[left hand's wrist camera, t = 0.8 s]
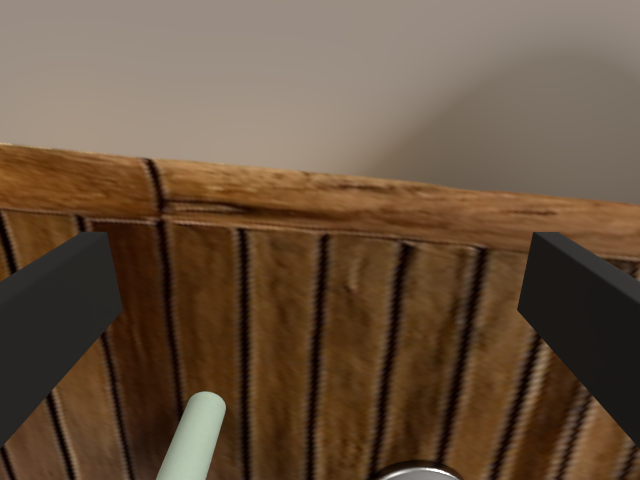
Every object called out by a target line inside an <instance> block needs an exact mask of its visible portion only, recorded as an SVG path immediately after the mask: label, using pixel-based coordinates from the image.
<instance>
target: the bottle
mask: <svg viewBox="0 0 640 480" xmlns="http://www.w3.org/2000/svg"><path fill="white" fill-rule="evenodd" d="M225 411H226V405H225V402H224V401H223V399H222V398H221V397H219V396H218V395H216V394H214V393H211V392H199V393H196V394H195V395H193V396H192V397H191V398H190V399H189V402H188V404H187V406H186V409H185V411H184V413H183V416H182V418H181V421H180V423H179V425H178V428H177V430H176V433H175V435H174V437H173V440H172V442H171V445H170V447H169V449H168V452H167V454H166V457H165V459H164V461H163V464H162V466H161V469H160V471H159V473H158V476H157V478H156V480H206V476H207V473H208V469H209V466H210V462H211V459H212V456H213V452H214V449H215V445H216V442H217V438H218V435H219V432H220V428H221V425H222V421H223V418H224V414H225Z"/></svg>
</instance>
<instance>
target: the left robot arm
mask: <svg viewBox="0 0 640 480" xmlns="http://www.w3.org/2000/svg"><path fill="white" fill-rule="evenodd" d="M122 310H123V308H122V303H121V299H120V294H119V289H118V284H117V279H116V274H115V270H114V265H113V260H112V255H111V250H110V246H109V241H108V236H107V232H81V233H80V234H78V235H76V236H75V237H73V238H71V239H70V240H68V241H66V242H65V243H63V244H61V245H60V246H58V247H57V248H55V249H53V250H52V251H50V252H48V253H47V254H45V255H43V256H42V257H40V258H39V259H37V260H35V261H34V262H32V263H30V264H29V265H27V266H25V267H24V268H22V269H20V270H19V271H17V272H16V273H14V274H12V275H11V276H9V277H7V278H6V279H4V280H2V281H1V282H0V448H1V447H2V446H3V445H4V444H5V443H6V442H7V440H8V439H9V438H10V437H11V436H12V435H13V434H14V433H15V431H16V430H17V429H18V428H19V427H20V426H21V425H22V423H23V422H24V421H25V420H26V419H27V418H28V417H29V416H30V414H31V413H32V412H33V411H34V410H35V409H36V408H37V406H38V405H39V404H40V403H41V402H42V401H43V400H44V399H45V397H46V396H47V395H48V394H49V393H50V392H51V391H52V390H53V388H54V387H55V386H56V385H57V384H58V383H59V382H60V380H61V379H62V378H63V377H64V376H65V375H66V374H67V373H68V371H69V370H70V369H71V368H72V367H73V366H74V365H75V364H76V362H77V361H78V360H79V359H80V358H81V357H82V356H83V354H84V353H85V352H86V351H87V350H88V349H89V348H90V347H91V345H92V344H93V343H94V342H95V341H96V340H97V339H98V337H99V336H100V335H101V334H102V333H103V332H104V331H105V330H106V328H107V327H108V326H109V325H110V324H111V323H112V322H113V321H114V319H115V318H116V317H117V316H118V315H119V314H120V313H121V311H122ZM517 310H518V311H519V313H520V314H521V315H522V316H523V317H524V318H525V319H526V321H527V322H528V323H529V324H530V325H531V326H532V327H533V328H534V330H535V331H536V332H537V333H538V334H539V335H540V336H541V337H542V339H543V340H544V341H545V342H546V343H547V344H548V345H549V347H550V348H551V349H552V350H553V351H554V352H555V353H556V354H557V356H558V357H559V358H560V359H561V360H562V361H563V362H564V364H565V365H566V366H567V367H568V368H569V369H570V370H571V371H572V373H573V374H574V375H575V376H576V377H577V378H578V379H579V380H580V382H581V383H582V384H583V385H584V386H585V387H586V388H587V390H588V391H589V392H590V393H591V394H592V395H593V396H594V397H595V399H596V400H597V401H598V402H599V403H600V404H601V405H602V406H603V408H604V409H605V410H606V411H607V412H608V413H609V414H610V416H611V417H612V418H613V419H614V420H615V421H616V422H617V423H618V425H619V426H620V427H621V428H622V429H623V430H624V431H625V433H626V434H627V435H628V436H629V437H630V438H631V439H632V440H633V442H634V443H635V444H636V445H637V446H638V447H639V448H640V282H639V281H638V280H636V279H634V278H633V277H631V276H629V275H628V274H626V273H624V272H623V271H621V270H620V269H618V268H616V267H615V266H613V265H611V264H610V263H608V262H606V261H605V260H603V259H601V258H600V257H598V256H597V255H595V254H593V253H592V252H590V251H588V250H587V249H585V248H583V247H582V246H580V245H579V244H577V243H575V242H574V241H572V240H570V239H569V238H567V237H565V236H564V235H562V234H560V233H559V232H533V236H532V241H531V246H530V250H529V255H528V260H527V265H526V270H525V274H524V279H523V284H522V289H521V294H520V299H519V303H518V308H517ZM369 480H463V478H462V477H461V476H460V475H459V474H458V473H457V472H456V471H454V470H453V469H451V468H450V467H448V466H445V465H443V464H440V463H436V462H432V461H424V460H413V461H405V462H400V463H397V464H394V465H391V466H388V467H386V468H384V469H382V470H381V471H379V472H378V473H376V474H375V475H374V476H373V477H371V478H370V479H369Z"/></svg>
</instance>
